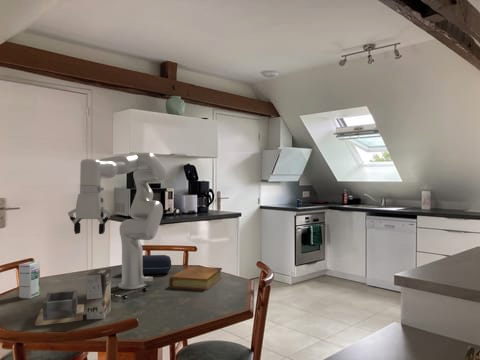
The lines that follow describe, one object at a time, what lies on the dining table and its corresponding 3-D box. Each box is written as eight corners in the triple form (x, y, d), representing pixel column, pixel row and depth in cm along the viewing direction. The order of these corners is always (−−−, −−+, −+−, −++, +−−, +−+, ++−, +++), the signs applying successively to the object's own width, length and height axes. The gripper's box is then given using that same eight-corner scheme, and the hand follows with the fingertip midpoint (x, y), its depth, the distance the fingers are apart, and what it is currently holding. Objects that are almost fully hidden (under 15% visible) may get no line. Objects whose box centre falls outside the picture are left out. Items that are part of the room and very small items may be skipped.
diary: (187, 277, 198) (187, 266, 198) (221, 279, 194) (221, 267, 194) (169, 288, 176) (169, 276, 176) (207, 291, 171) (207, 278, 171)
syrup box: (30, 298, 160) (30, 264, 160) (18, 298, 161) (18, 264, 161) (40, 294, 166) (40, 261, 166) (28, 294, 167) (28, 261, 167)
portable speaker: (172, 271, 209) (172, 253, 209) (170, 275, 199) (170, 256, 199) (126, 272, 208) (126, 254, 208) (121, 276, 198) (121, 257, 198)
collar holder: (84, 307, 148) (83, 288, 149) (82, 320, 134) (82, 299, 135) (41, 312, 143) (41, 293, 143) (35, 326, 129) (35, 304, 129)
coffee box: (104, 319, 135) (104, 274, 136) (86, 319, 135) (86, 274, 135) (111, 310, 145) (110, 268, 145) (93, 311, 144) (93, 269, 144)
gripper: (115, 190, 153) (114, 232, 152) (73, 190, 154) (72, 232, 153) (107, 190, 146) (106, 234, 145) (64, 190, 147) (63, 234, 146)
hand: (89, 233), depth 149 cm, fingers open, 9 cm apart
